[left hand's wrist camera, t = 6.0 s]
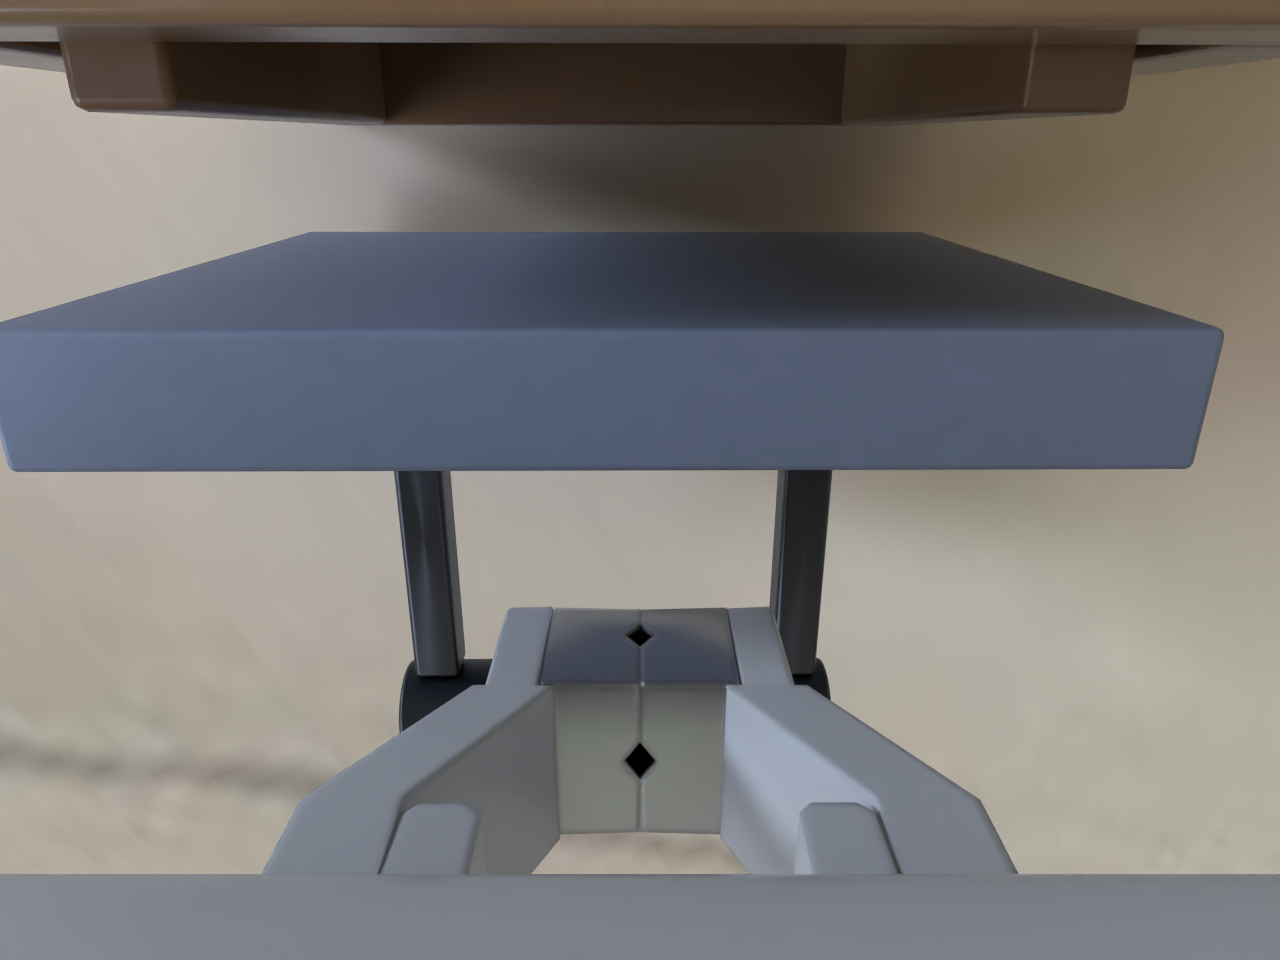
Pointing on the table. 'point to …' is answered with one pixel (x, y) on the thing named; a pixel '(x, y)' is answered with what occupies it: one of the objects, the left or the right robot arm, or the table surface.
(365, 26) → the cabinet
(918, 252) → the drawer
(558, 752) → the left robot arm
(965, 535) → the table surface
